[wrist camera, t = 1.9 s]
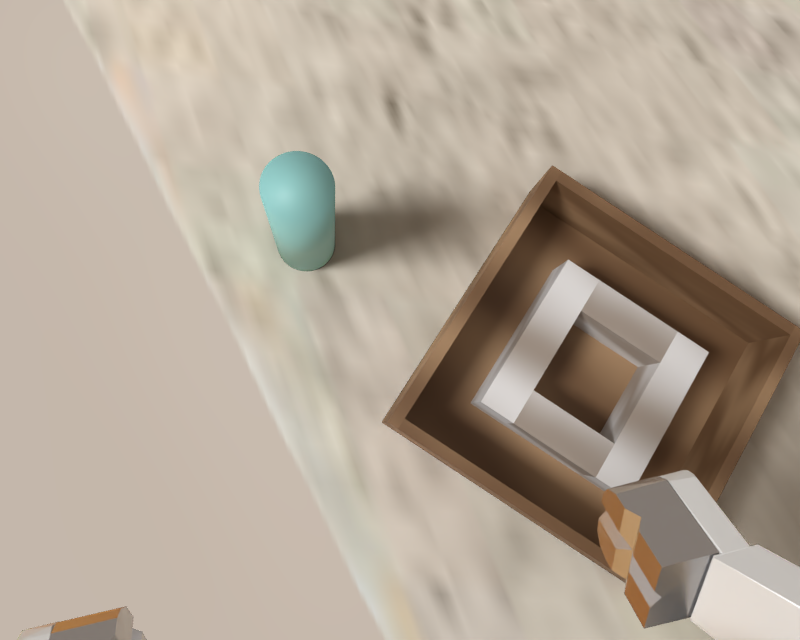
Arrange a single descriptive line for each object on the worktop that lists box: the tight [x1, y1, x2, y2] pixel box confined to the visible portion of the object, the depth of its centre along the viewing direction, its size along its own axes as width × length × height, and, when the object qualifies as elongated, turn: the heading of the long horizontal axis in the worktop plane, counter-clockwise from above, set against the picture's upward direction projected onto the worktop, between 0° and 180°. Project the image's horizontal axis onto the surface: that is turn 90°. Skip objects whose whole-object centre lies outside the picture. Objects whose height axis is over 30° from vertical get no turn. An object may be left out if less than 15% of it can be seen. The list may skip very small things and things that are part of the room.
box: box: [382, 166, 800, 583], centre depth 35 cm, size 16×16×4 cm
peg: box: [259, 151, 335, 271], centre depth 32 cm, size 3×3×9 cm
